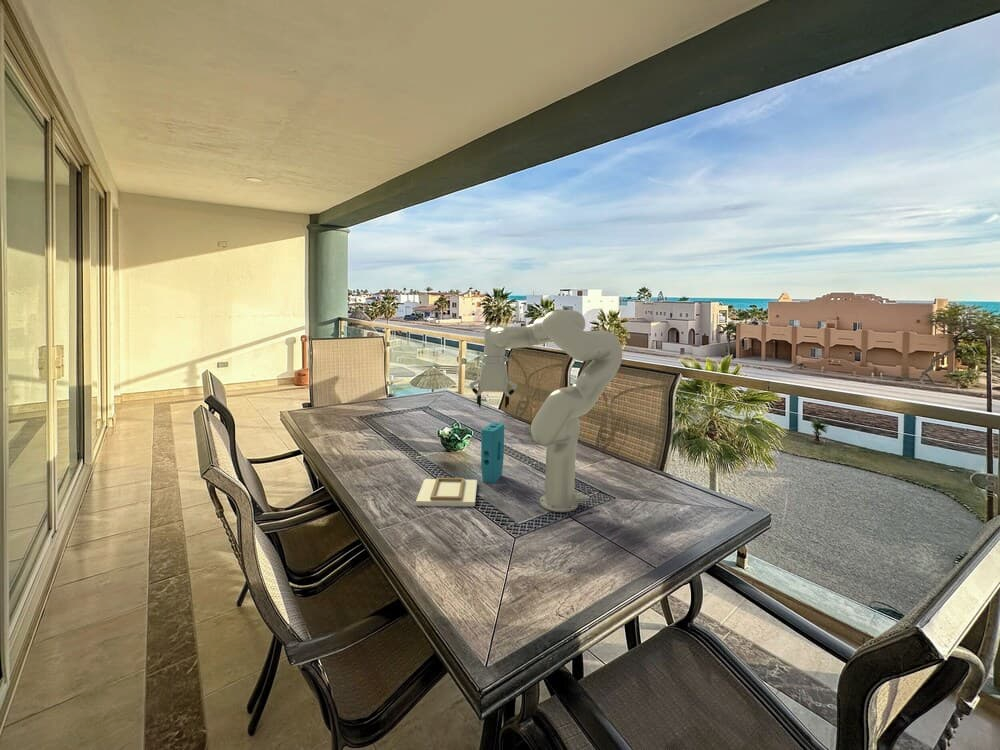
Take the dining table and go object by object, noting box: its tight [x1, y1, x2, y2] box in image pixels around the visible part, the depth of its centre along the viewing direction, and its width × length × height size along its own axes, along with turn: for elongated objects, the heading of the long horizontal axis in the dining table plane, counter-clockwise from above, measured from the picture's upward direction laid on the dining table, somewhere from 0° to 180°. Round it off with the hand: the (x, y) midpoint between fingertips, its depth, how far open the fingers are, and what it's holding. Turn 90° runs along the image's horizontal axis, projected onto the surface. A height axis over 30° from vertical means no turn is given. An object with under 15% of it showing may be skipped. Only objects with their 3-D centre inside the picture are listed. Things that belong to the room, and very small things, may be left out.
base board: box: [415, 477, 478, 507], centre depth 157 cm, size 19×19×2 cm
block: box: [480, 422, 505, 484], centre depth 171 cm, size 12×5×20 cm, turn 160°
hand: (492, 406), depth 169 cm, fingers open, 9 cm apart
